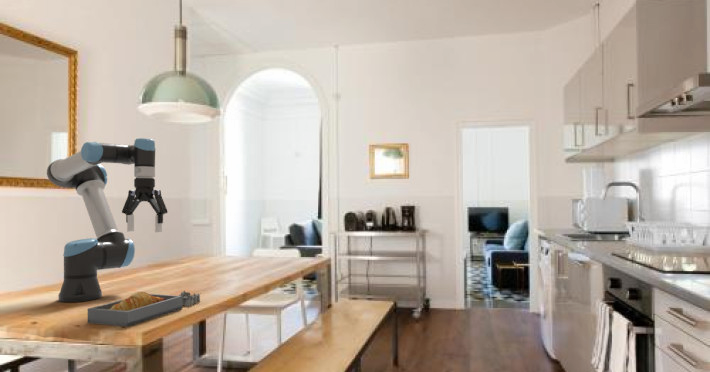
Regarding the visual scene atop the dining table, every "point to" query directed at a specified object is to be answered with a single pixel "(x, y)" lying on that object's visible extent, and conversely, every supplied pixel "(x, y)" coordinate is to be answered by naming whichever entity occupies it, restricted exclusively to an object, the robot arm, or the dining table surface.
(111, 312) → the grey rectangular open tray
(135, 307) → the croissant
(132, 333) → the dining table surface
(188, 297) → the egg carton
